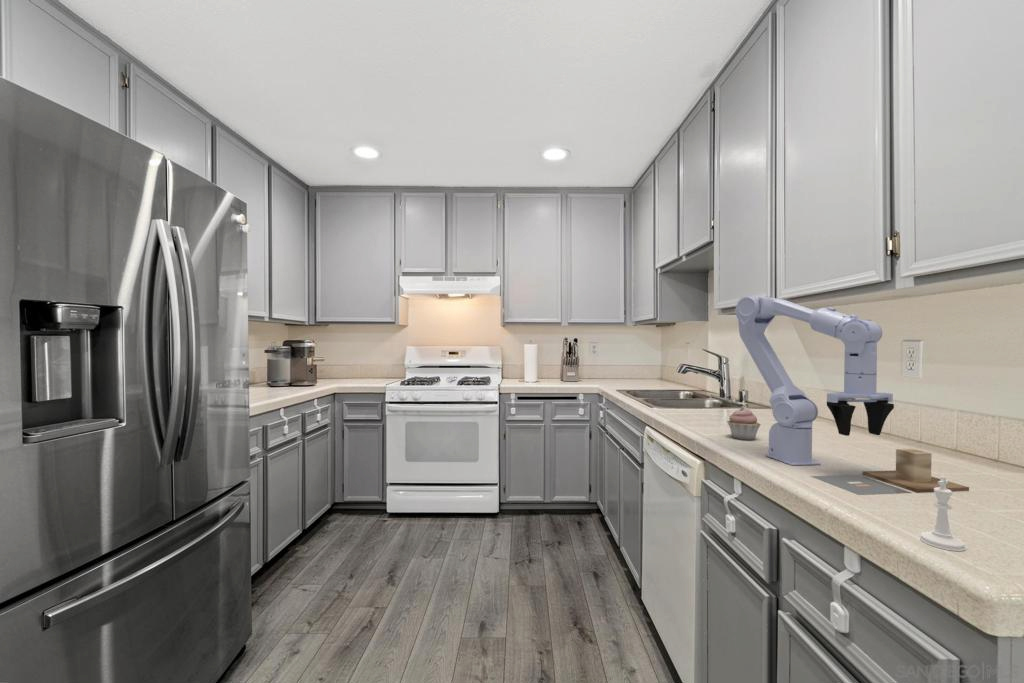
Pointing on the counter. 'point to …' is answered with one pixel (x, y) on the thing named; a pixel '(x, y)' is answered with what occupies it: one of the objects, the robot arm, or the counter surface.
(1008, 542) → the counter surface
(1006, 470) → the counter surface
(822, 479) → the tile
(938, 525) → the chess piece
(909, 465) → the maple block
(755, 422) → the cupcake
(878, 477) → the board
